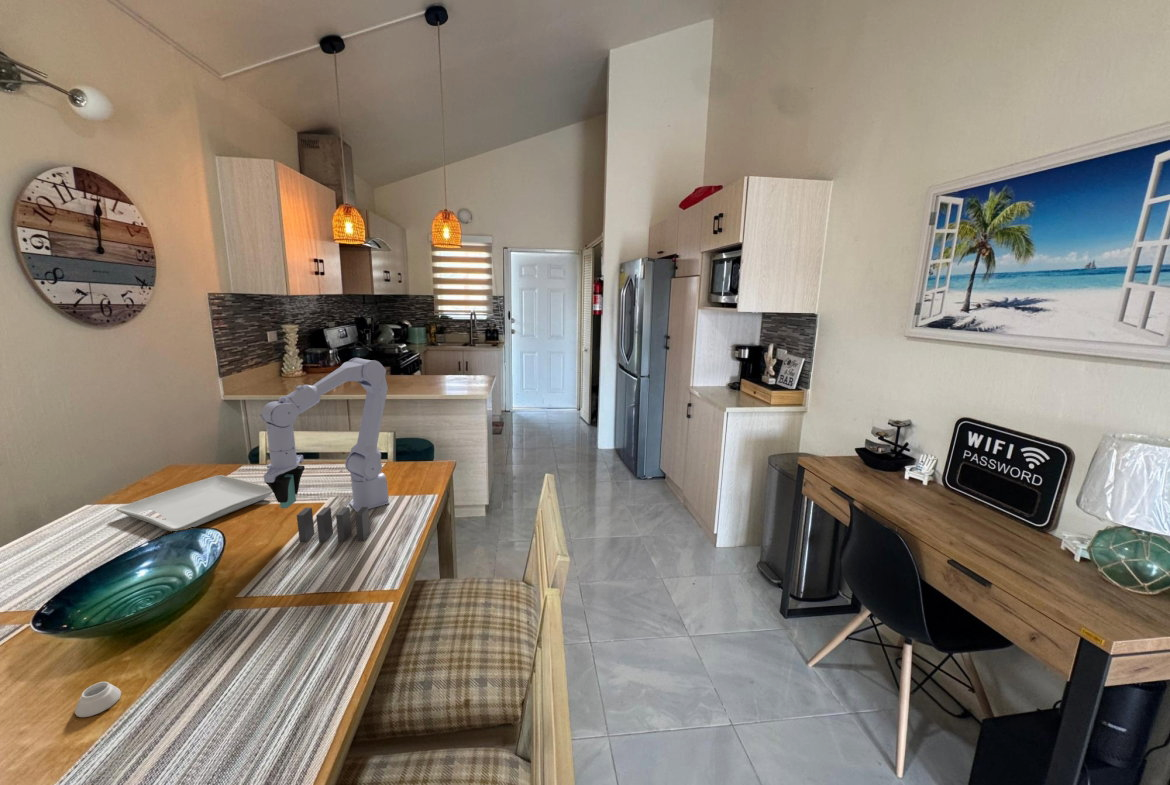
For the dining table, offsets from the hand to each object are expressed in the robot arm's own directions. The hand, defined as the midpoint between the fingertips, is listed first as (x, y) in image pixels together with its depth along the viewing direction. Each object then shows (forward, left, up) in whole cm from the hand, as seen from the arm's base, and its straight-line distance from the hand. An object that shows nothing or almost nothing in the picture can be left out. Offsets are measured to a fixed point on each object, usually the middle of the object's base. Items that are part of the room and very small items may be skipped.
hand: (288, 497), depth 124 cm
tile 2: (-10, +11, -10) cm, 18 cm away
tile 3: (-6, +8, -10) cm, 14 cm away
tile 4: (-3, +5, -10) cm, 12 cm away
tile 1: (-14, +14, -10) cm, 22 cm away
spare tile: (0, 0, -2) cm, 2 cm away
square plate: (+17, -33, -11) cm, 38 cm away
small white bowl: (+33, +41, -10) cm, 54 cm away
